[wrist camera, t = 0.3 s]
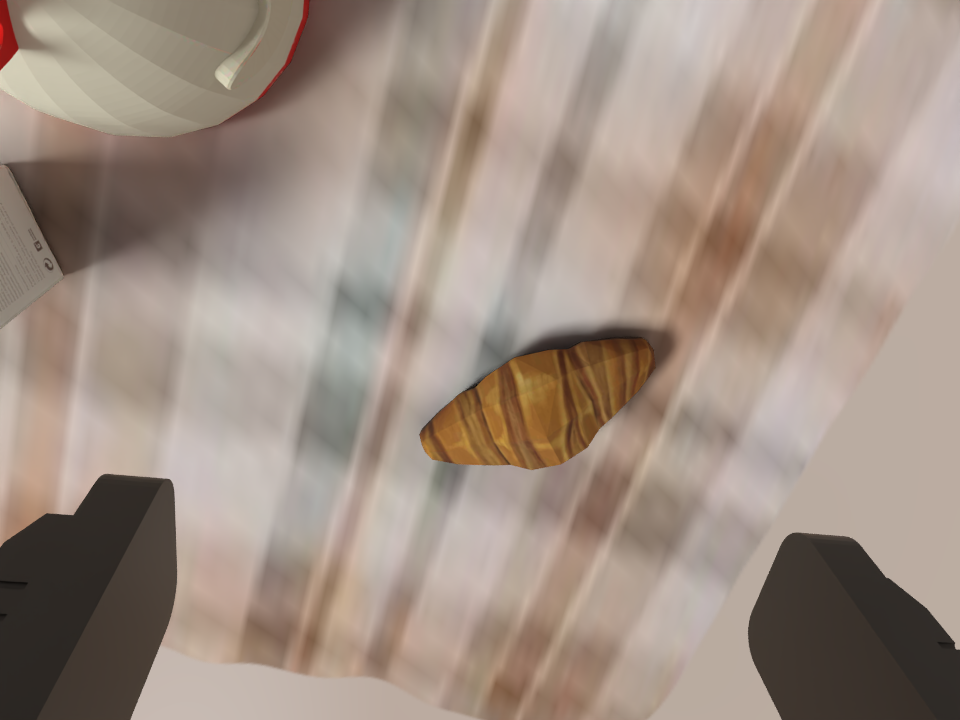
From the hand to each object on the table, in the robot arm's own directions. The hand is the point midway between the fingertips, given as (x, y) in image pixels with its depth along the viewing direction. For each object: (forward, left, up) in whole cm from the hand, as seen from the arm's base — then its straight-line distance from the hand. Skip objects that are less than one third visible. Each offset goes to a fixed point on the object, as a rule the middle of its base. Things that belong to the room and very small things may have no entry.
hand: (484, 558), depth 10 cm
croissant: (+11, +7, -28) cm, 31 cm away
